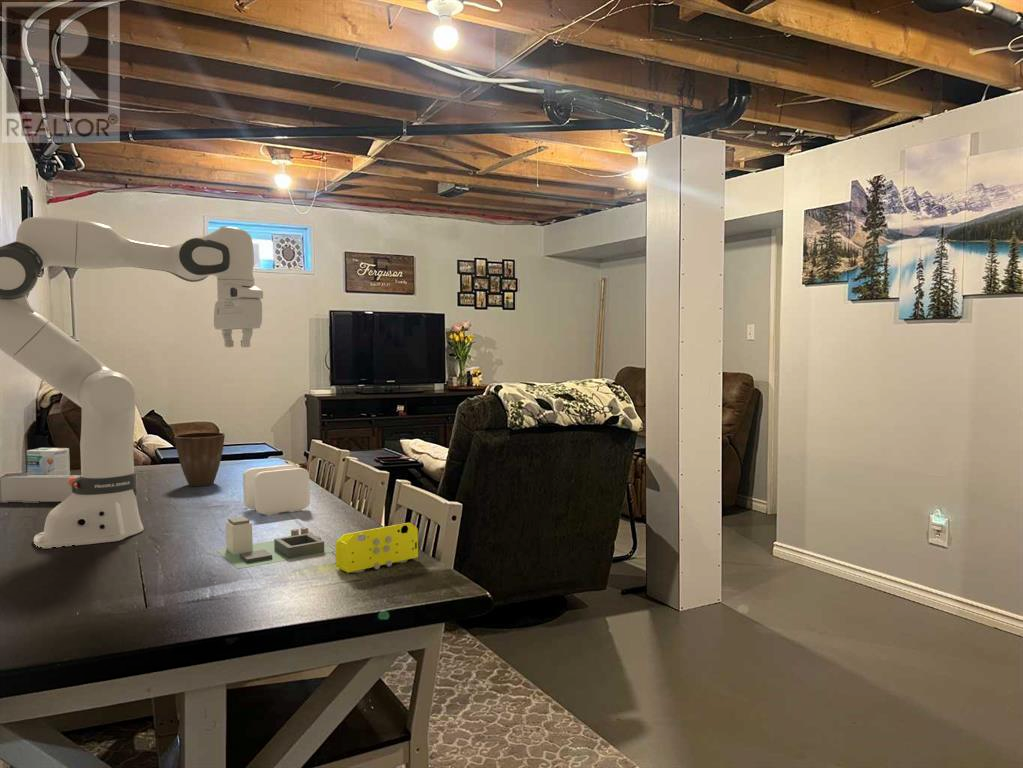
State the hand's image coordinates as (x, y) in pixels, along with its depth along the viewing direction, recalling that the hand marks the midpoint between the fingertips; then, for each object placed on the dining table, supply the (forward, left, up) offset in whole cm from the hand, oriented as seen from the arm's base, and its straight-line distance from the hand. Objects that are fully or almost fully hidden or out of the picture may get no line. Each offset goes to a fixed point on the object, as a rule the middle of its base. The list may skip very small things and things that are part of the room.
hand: (237, 347), depth 187 cm
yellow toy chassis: (+11, -57, -45) cm, 73 cm away
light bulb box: (-35, +94, -45) cm, 110 cm away
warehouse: (-33, +60, -45) cm, 82 cm away
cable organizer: (+11, +5, -45) cm, 46 cm away
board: (-4, -39, -44) cm, 59 cm away
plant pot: (+4, +57, -44) cm, 72 cm away
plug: (-10, -34, -43) cm, 56 cm away
